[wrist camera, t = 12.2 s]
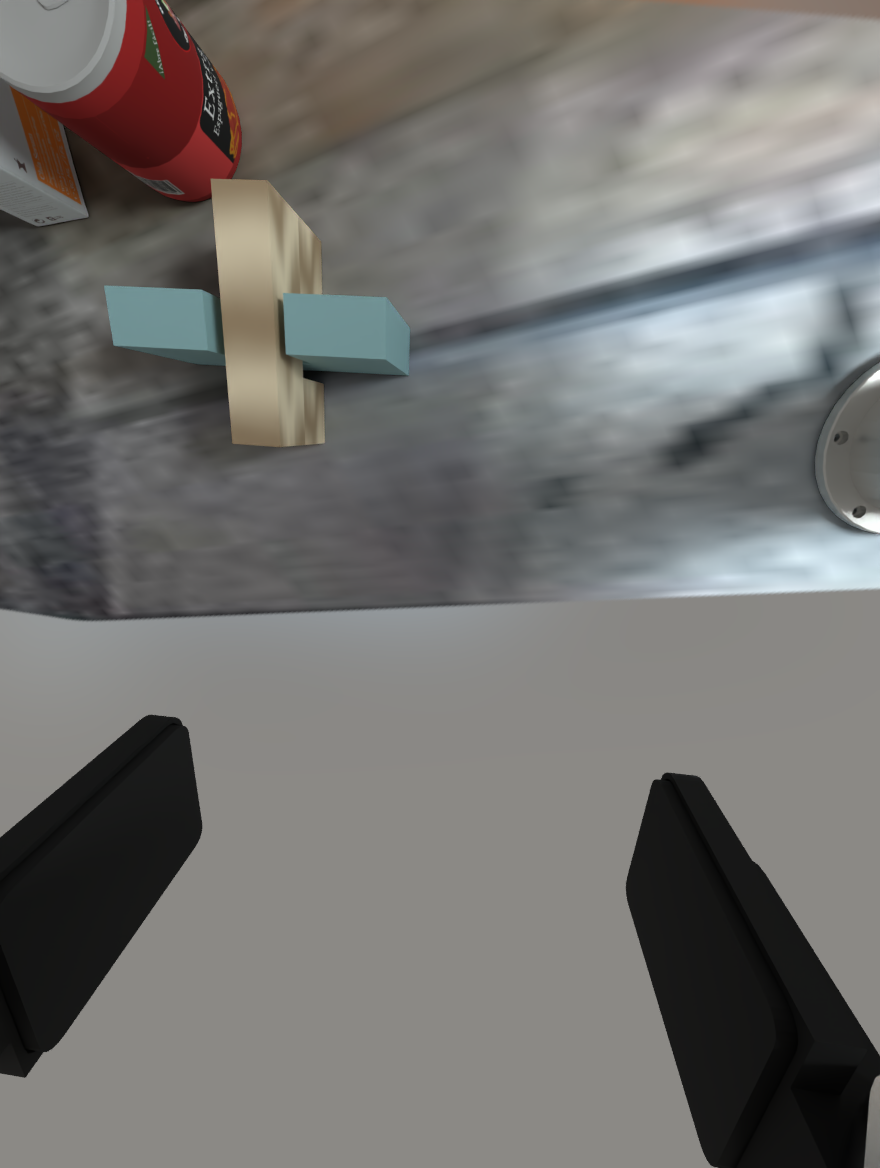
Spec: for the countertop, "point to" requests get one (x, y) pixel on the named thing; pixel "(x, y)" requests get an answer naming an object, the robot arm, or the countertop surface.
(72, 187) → the skincare box
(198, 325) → the light blue block
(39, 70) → the canned food
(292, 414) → the beige flat block
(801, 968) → the robot arm
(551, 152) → the countertop surface
